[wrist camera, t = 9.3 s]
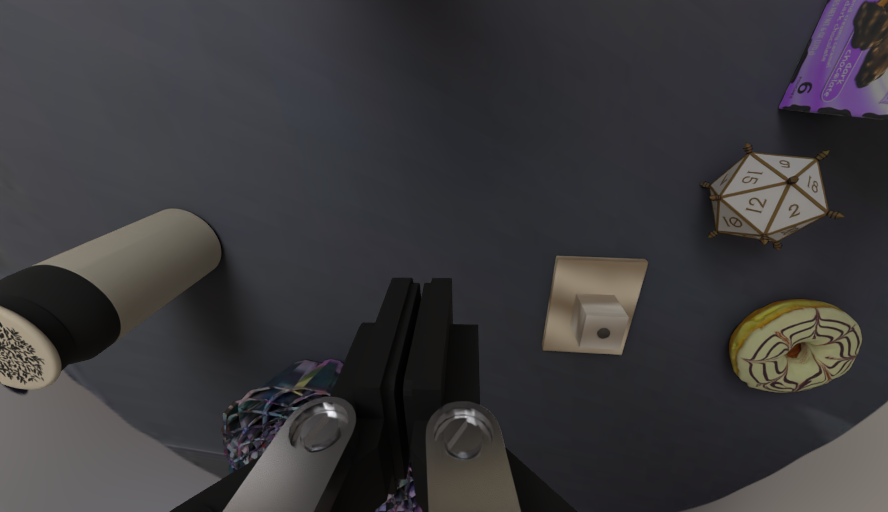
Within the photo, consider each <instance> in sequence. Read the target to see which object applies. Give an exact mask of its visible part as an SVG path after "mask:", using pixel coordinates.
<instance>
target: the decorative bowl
mask: <svg viewBox="0 0 888 512" xmlns="http://www.w3.org/2000/svg"><path fill="white" fill-rule="evenodd" d="M342 367H343V363H342V362H341V361H338V360H333V359H329V360H325V361H324V362H322V363H319V362H315V361H311V360H302V361H299V362H296V363H294V364H293V365H291V366H290V367H288V368H287V369H286V370H284V371H283V372H281V373H280V374H278V375H277V376H275V377H274V378H273V379H271V380H270V381H268V382H267V383H265V384H264V385H262V386H261V387H260V388H258V389H256V390H251V391H249V392H248V393H247V394H246V395H245V396H244V397H243V398H242V400H239V401H236V402H233V403H232V404H231V406H230V407H229V408H228V409H227V410H226V411H225V412H224V413H223V423H224V426H223V427H222V433H223V437H224V440H223V445H224V454H225V456H226V458H227V459H228V460H229V461H230V464H231V465H230V466H229V473H230V474H231V473H233V472H234V471H236V470H238V469H239V468H241V467H243V466H244V465H246V464H248V463H249V462H251V461H252V460H254V459H256V458H257V457H259V456H261V455H262V454H263V453H264V452H265V450H266V449H267V447H268V446H269V444H270V443H271V442H272V440H273V439H274V437H275V436H276V434H277V433H278V431H279V430H280V429H281V427H282V426H283V424H284V423H285V421H286V420H287V419H288V418H289V417H290V415H291V414H292V413H293V412H294V411H295V410H296V409H298V408H299V407H301V406H302V405H303V404H305V403H307V402H309V401H312V400H314V399H317V398H322V397H330V395H331V392H332V390H333V388H334V385H335V383H336V381H337V378H338V376H339V374H340V371H341V369H342ZM375 512H422V509H421V508H420V506H419V505H418V504H417V502H416V495H415V487H414V480H413V479H412V471H411V462H409V468H408V474H407V478H406V480H402V479H399V481H398V487H397V492H396V495H392V494H388V498H387V501H386V502H385V503H383V504H382V505H381V506H380V507H379V508H378V509H376V510H375Z"/></svg>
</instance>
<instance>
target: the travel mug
mask: <svg viewBox="0 0 888 512" xmlns="http://www.w3.org/2000/svg"><path fill="white" fill-rule="evenodd" d="M220 259H221V246H220V243H219V240H218V238H217V236H216V234H215V233H214V231H213V230H212V229H211V227H210V226H209V225H208V224H207V223H206V222H204V221H203V220H202V219H201V218H199V217H198V216H196V215H194V214H192V213H190V212H188V211H185V210H181V209H166V210H163V211H160V212H158V213H156V214H153V215H151V216H148V217H146V218H144V219H141V220H139V221H137V222H134V223H132V224H130V225H127V226H125V227H123V228H120V229H118V230H116V231H113V232H111V233H108V234H106V235H104V236H101V237H99V238H97V239H94V240H92V241H90V242H87V243H85V244H83V245H80V246H78V247H75V248H73V249H71V250H68V251H66V252H64V253H61V254H59V255H57V256H54V257H52V258H50V259H47V260H45V261H42V262H40V263H38V264H35V265H33V266H31V267H28V268H26V269H24V270H21V271H19V272H17V273H14V274H12V275H9V276H7V277H5V278H3V279H1V280H0V383H2V384H4V385H7V386H11V387H15V388H20V389H39V388H44V387H47V386H49V385H51V384H52V383H54V382H55V381H56V380H57V379H58V377H59V375H60V373H61V371H62V370H63V369H64V368H65V367H66V366H67V365H68V364H73V363H77V362H81V361H85V360H89V359H91V358H93V357H95V356H97V355H98V354H99V353H101V352H102V351H103V350H105V349H106V348H107V347H109V346H110V345H112V344H113V343H114V342H116V341H117V340H118V339H120V338H121V337H122V336H124V335H125V334H127V333H128V332H129V331H131V330H132V329H133V328H135V327H136V326H137V325H139V324H140V323H142V322H143V321H144V320H146V319H147V318H148V317H150V316H151V315H152V314H154V313H155V312H157V311H158V310H159V309H161V308H162V307H163V306H165V305H166V304H167V303H169V302H170V301H171V300H173V299H174V298H176V297H177V296H178V295H180V294H181V293H182V292H184V291H185V290H186V289H188V288H189V287H191V286H192V285H193V284H195V283H196V282H197V281H199V280H200V279H201V278H203V277H204V276H206V275H207V274H208V273H210V272H211V271H212V270H214V269H215V268H216V267H217V266H218V264H219V262H220Z"/></svg>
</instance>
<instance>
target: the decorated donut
mask: <svg viewBox="0 0 888 512" xmlns="http://www.w3.org/2000/svg"><path fill="white" fill-rule="evenodd" d="M861 343H862V336H861V331H860V327H859V326H858V324H857V323H856V321H854V320H853V319H852V318H851V317H850V316H849V315H848V314H846V313H845V312H843V311H842V310H840V309H839V308H837V307H835V306H833V305H831V304H828V303H825V302H819V301H816V300H808V299H789V300H784V301H777V302H773V303H771V304H769V305H767V306H765V307H763V308H760V309H757V310H755V311H754V312H752V313H751V314H750V315H749V316H747V317H745V318H744V320H743V321H742V322H741V323H740V324H739V325H738V327H737V328H736V329H735V330H734V332H733V334H732V335H731V339H730V342H729V356H730V360H731V363H732V366H733V370H734V372H735V373H736V375H737V376H738V377H740V379H741V380H742V381H744V382H746V383H747V384H748V386H749V387H752V388H756V389H761V390H765V391H770V392H780V393H783V392H784V393H787V392H797V391H802V390H807V389H811V388H814V387H818V386H821V385H823V384H826V383H828V382H830V381H831V380H833V379H834V378H837V377H839V376H841V375H843V374H844V373H845V372H847V371H848V370H849V369H850V367H851V365H852V363H853V362H854V360H855V358H856V356H857V354H858V351H859V347H860V345H861Z"/></svg>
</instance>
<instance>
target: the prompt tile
mask: <svg viewBox="0 0 888 512" xmlns="http://www.w3.org/2000/svg"><path fill="white" fill-rule="evenodd" d="M647 266H648V262H647V261H646V260H645V259H630V258H603V257H577V256H556V260H555V266H554V272H553V279H552V285H551V291H550V297H549V304H548V310H547V316H546V322H545V328H544V335H543V341H542V349H543V350H545V351H564V352H582V353H600V354H618V355H622V352H623V348H624V345H625V341H626V338H627V335H628V331H629V328H630V324H631V321H632V317H633V314H634V310H635V307H636V303H637V300H638V297H639V293H640V290H641V286H642V283H643V279H644V276H645V272H646V269H647Z"/></svg>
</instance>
